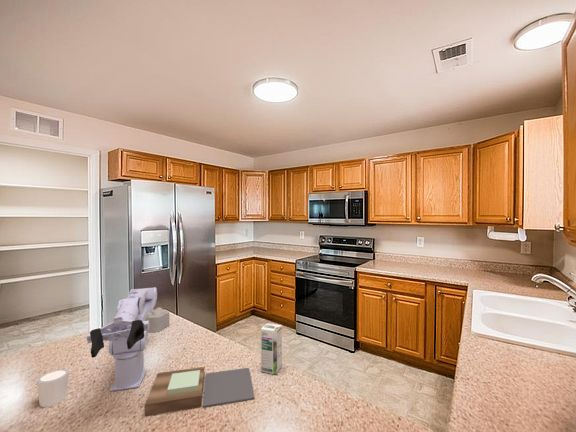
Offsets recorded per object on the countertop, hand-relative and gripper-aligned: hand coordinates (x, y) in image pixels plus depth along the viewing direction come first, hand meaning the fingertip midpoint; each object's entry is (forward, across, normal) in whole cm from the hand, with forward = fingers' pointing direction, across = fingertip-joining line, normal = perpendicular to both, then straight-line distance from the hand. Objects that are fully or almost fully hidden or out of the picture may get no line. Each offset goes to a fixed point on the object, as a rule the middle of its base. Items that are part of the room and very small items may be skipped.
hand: (111, 349), depth 66 cm
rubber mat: (-4, +27, +23) cm, 36 cm away
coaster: (-4, +15, +19) cm, 24 cm away
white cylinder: (-14, -20, +20) cm, 32 cm away
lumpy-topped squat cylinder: (-61, -2, +30) cm, 68 cm away
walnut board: (-5, +13, +22) cm, 26 cm away
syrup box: (-8, +42, +26) cm, 50 cm away
